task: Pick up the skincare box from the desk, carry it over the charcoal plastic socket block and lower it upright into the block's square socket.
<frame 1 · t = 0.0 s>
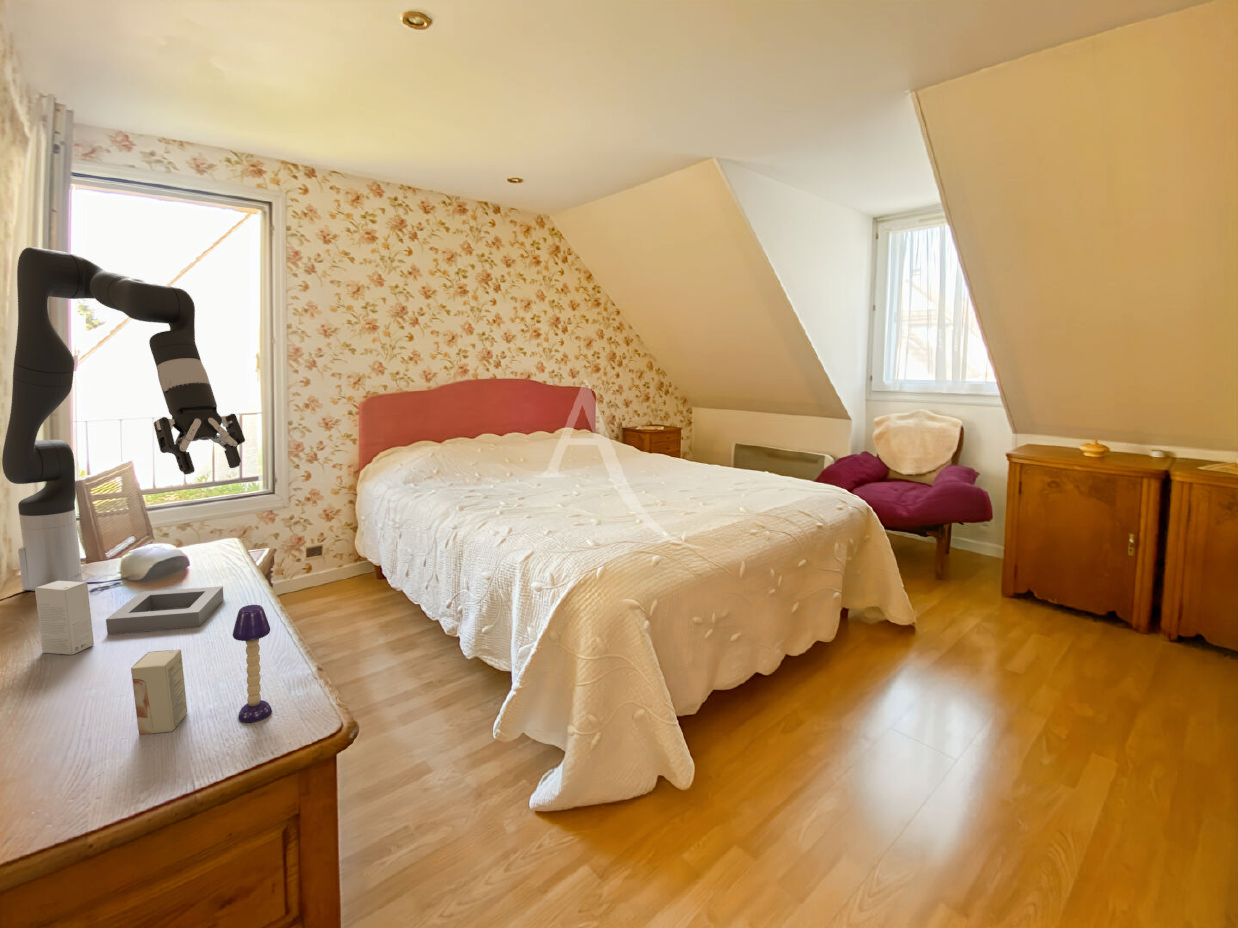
hand: (213, 470, 113), 31 cm above the table, tool tilted 20°, fingers open, 8 cm apart
skincare box: (68, 650, 108), on the table
skincare box 2: (163, 725, 87), on the table
socket block: (169, 615, 124), on the table
toy lamp: (256, 717, 89), on the table
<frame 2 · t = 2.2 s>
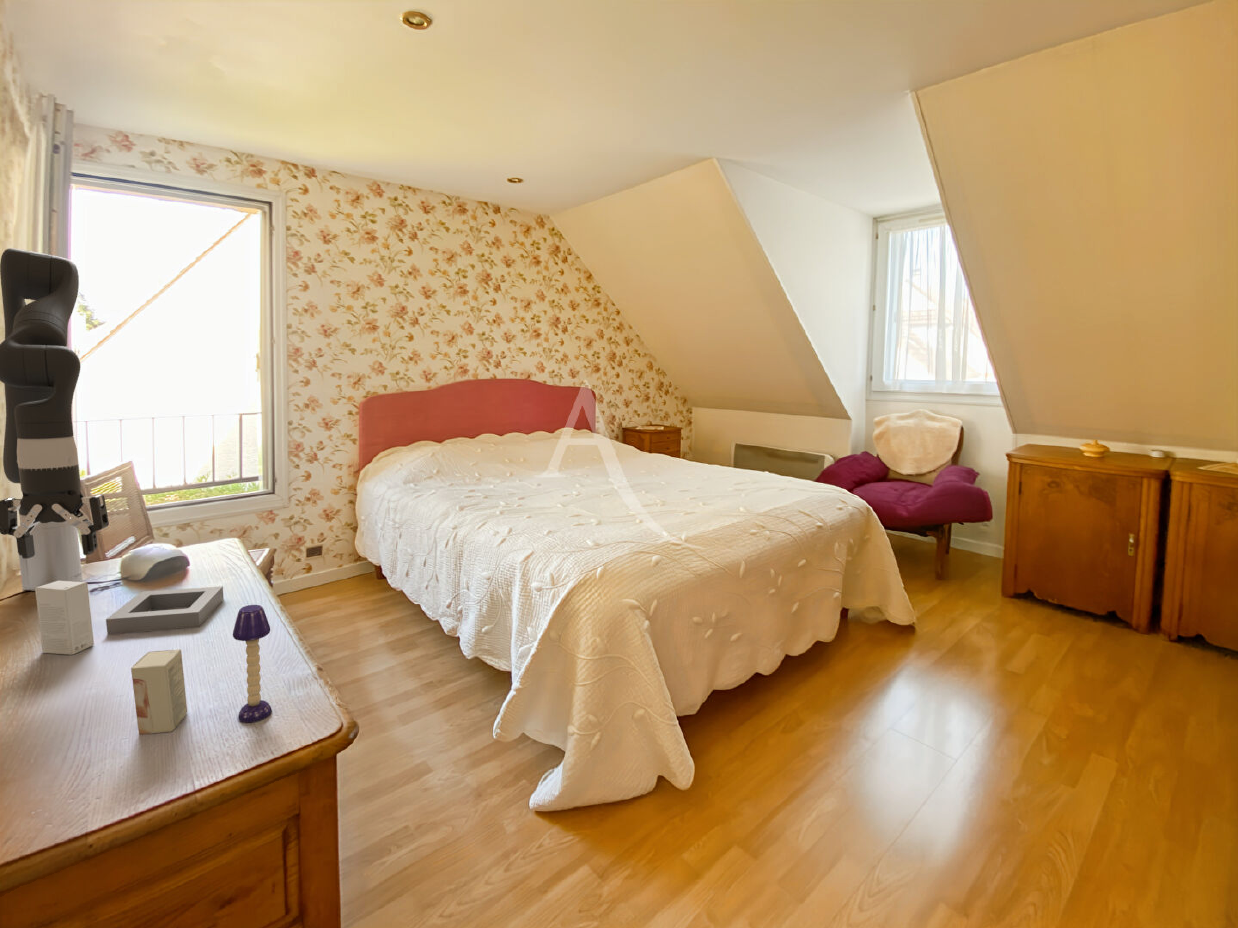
hand: (59, 555, 106), 17 cm above the table, tool pointing down, fingers open, 8 cm apart
nothing on the table moved.
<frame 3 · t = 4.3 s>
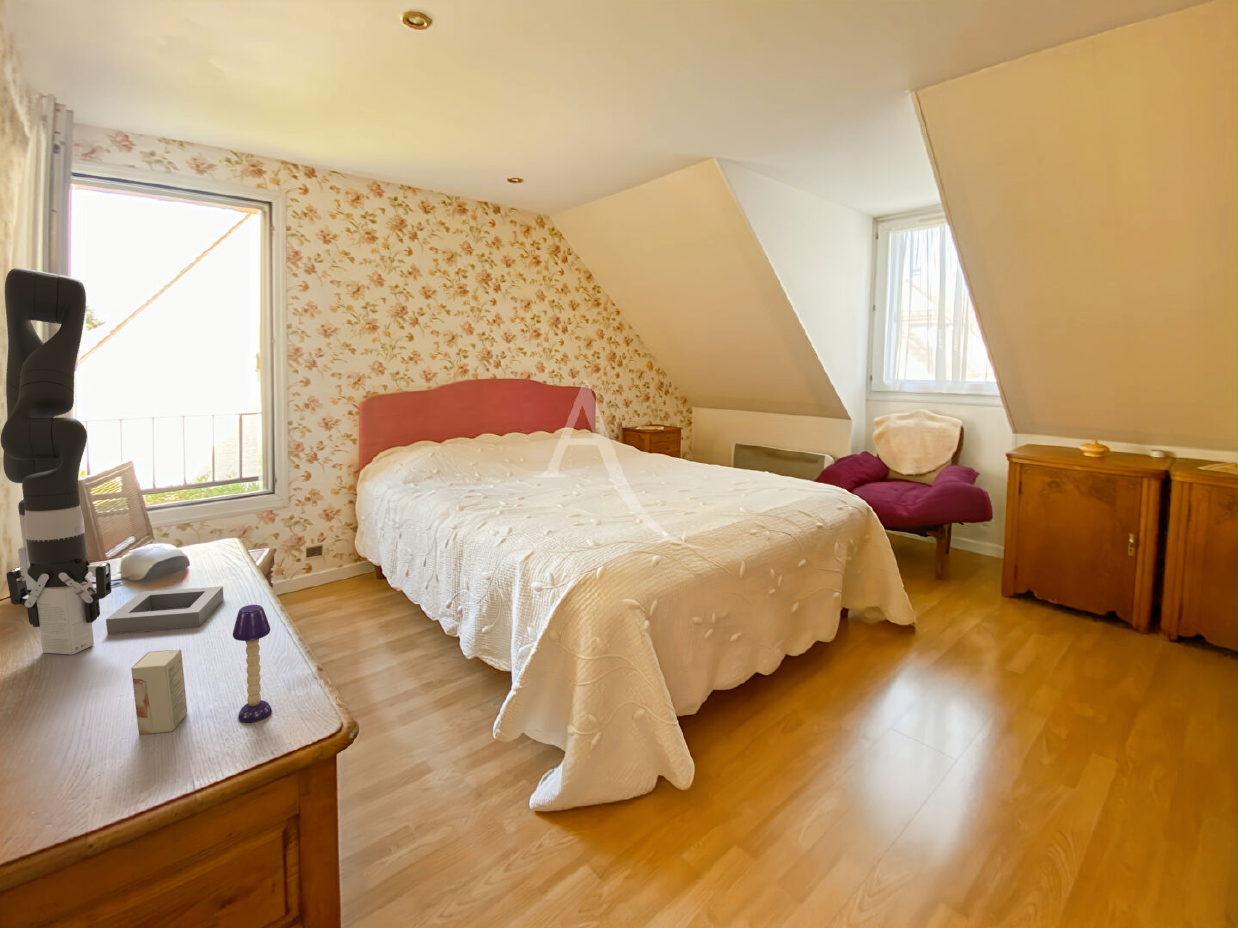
hand: (65, 623, 108), 5 cm above the table, tool pointing down, fingers closed on skincare box, 7 cm apart
skincare box: (68, 650, 108), on the table, touching gripper
everything else where it was.
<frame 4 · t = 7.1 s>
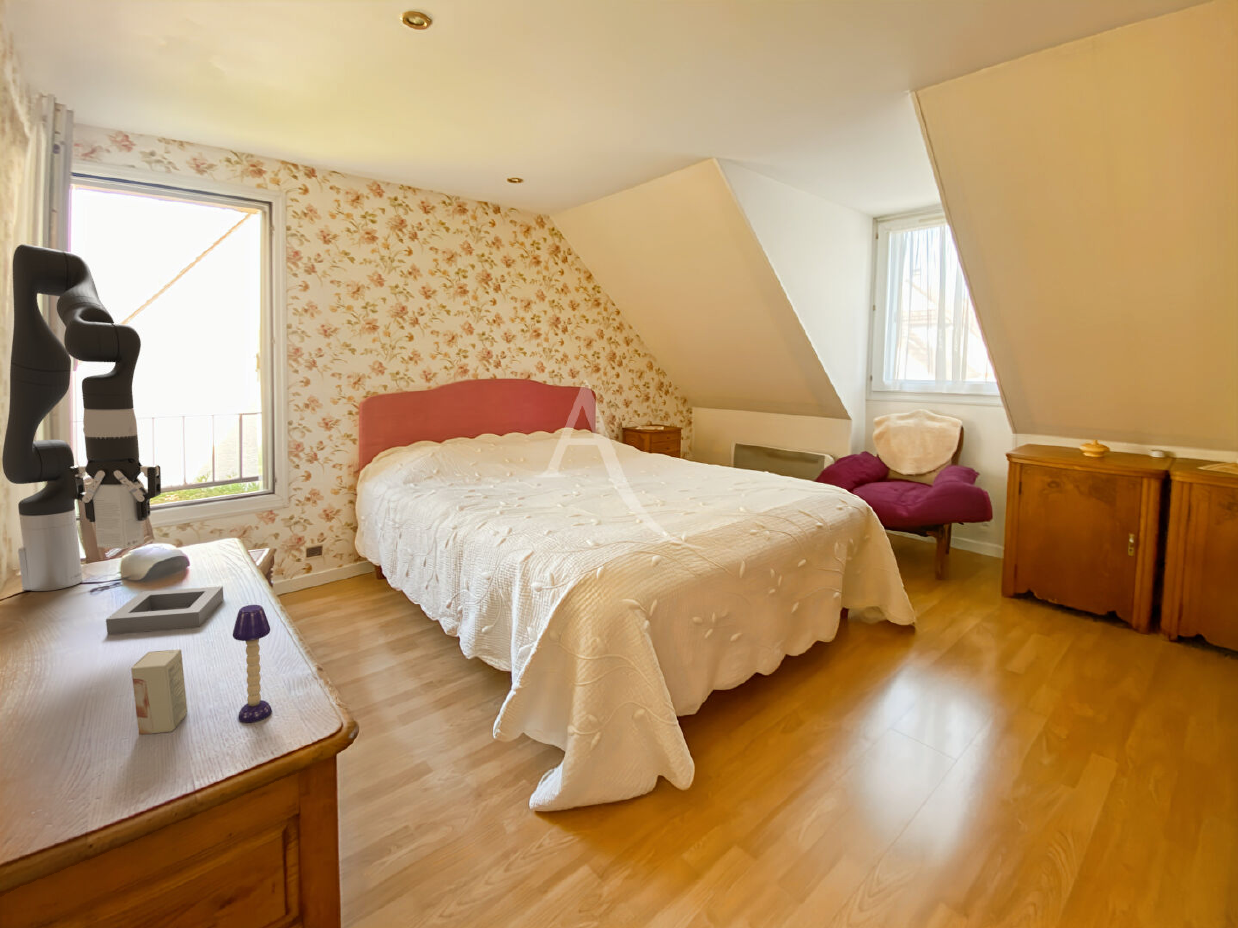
hand: (119, 520, 114), 21 cm above the table, tool pointing down, fingers closed on skincare box, 7 cm apart
skincare box: (121, 546, 115), point 16 cm above the table, touching gripper
everything else where it was.
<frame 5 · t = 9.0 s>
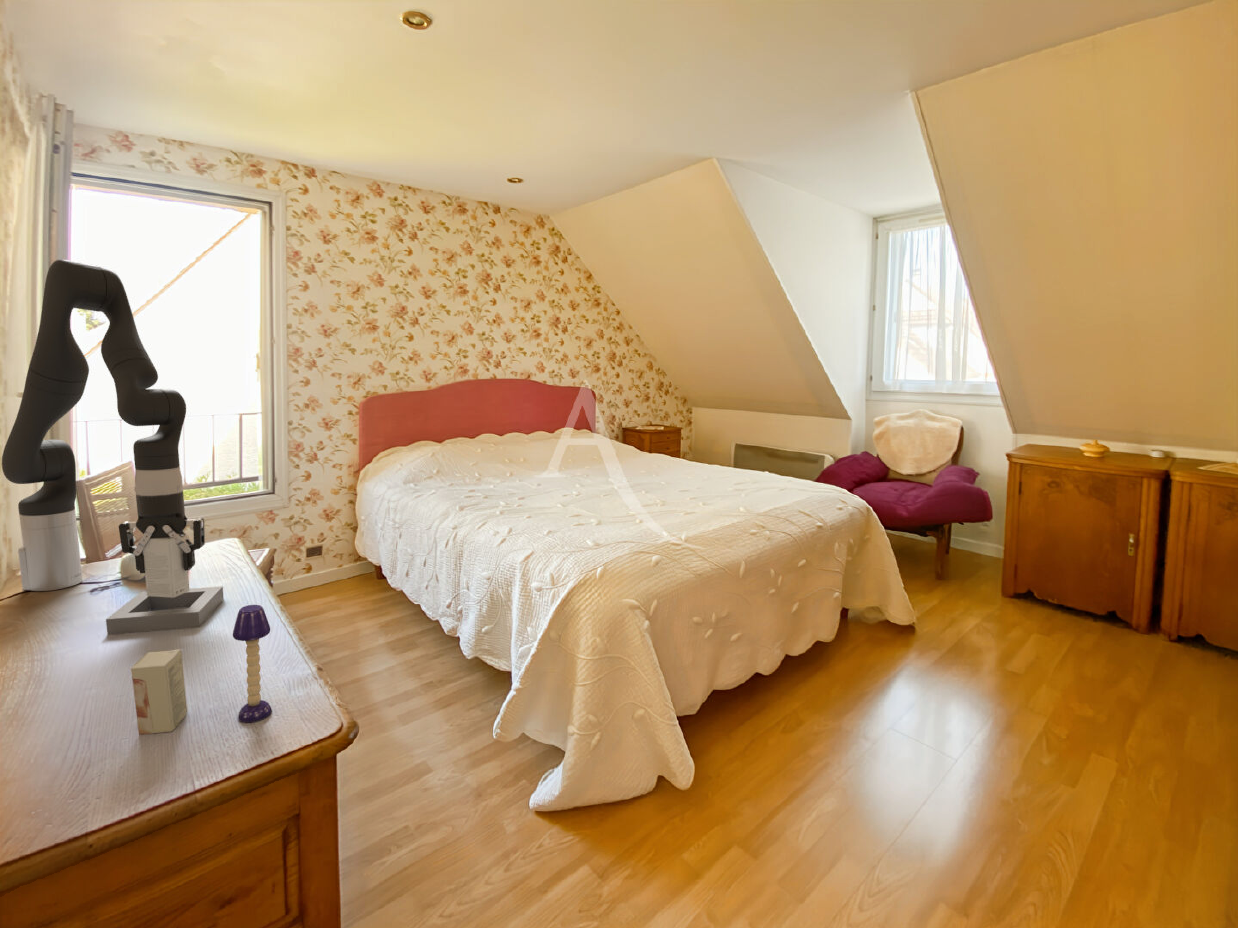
hand: (166, 570, 123), 9 cm above the table, tool pointing down, fingers closed on skincare box, 7 cm apart
skincare box: (168, 594, 123), point 4 cm above the table, touching gripper
everything else where it was.
when the fingers open (6 cm above the table, at t = 10.3 s): skincare box drops 1 cm, resting in socket block.
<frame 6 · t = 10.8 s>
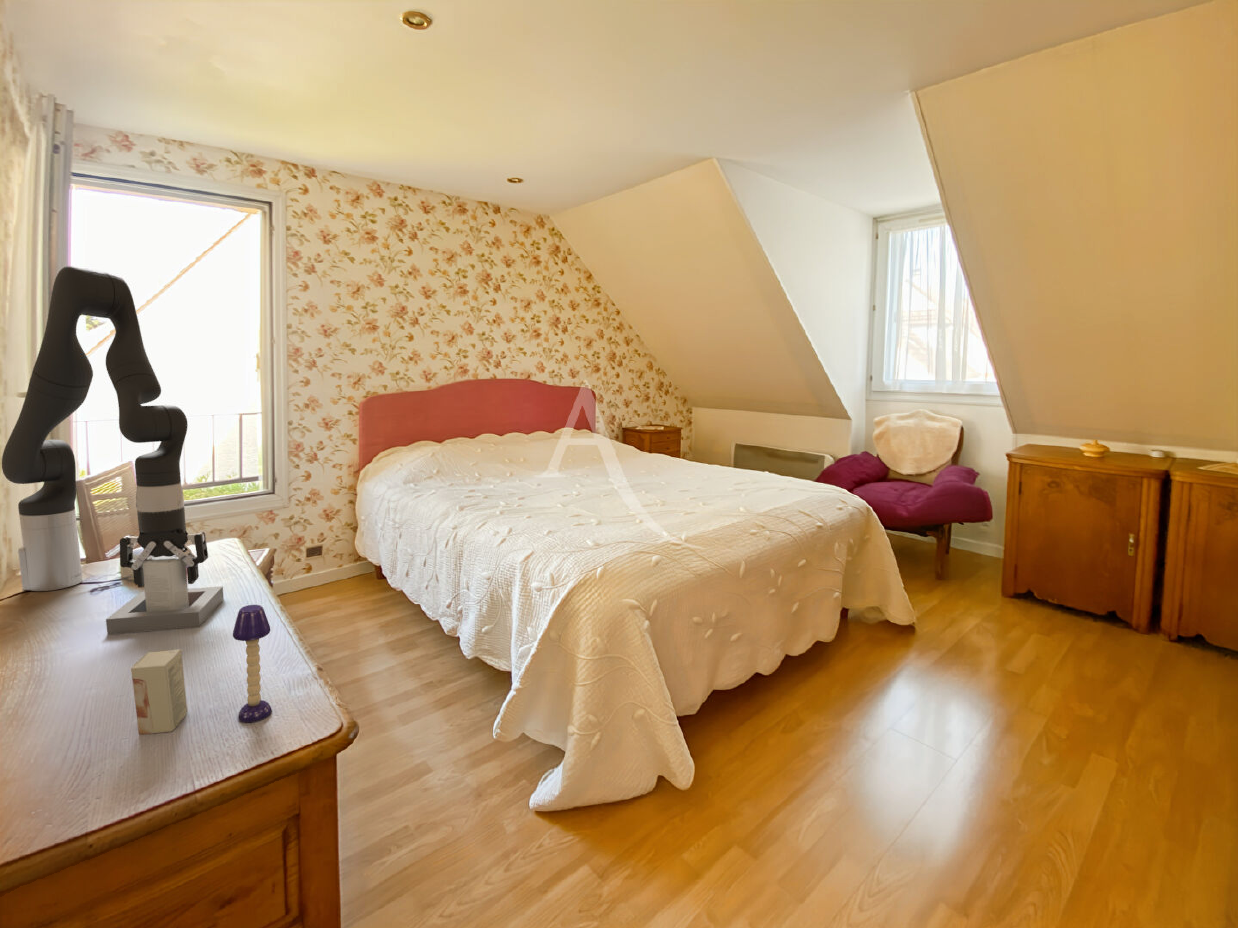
hand: (167, 584, 123), 7 cm above the table, tool pointing down, fingers open, 8 cm apart
skincare box: (168, 616, 124), resting in socket block
everything else where it was.
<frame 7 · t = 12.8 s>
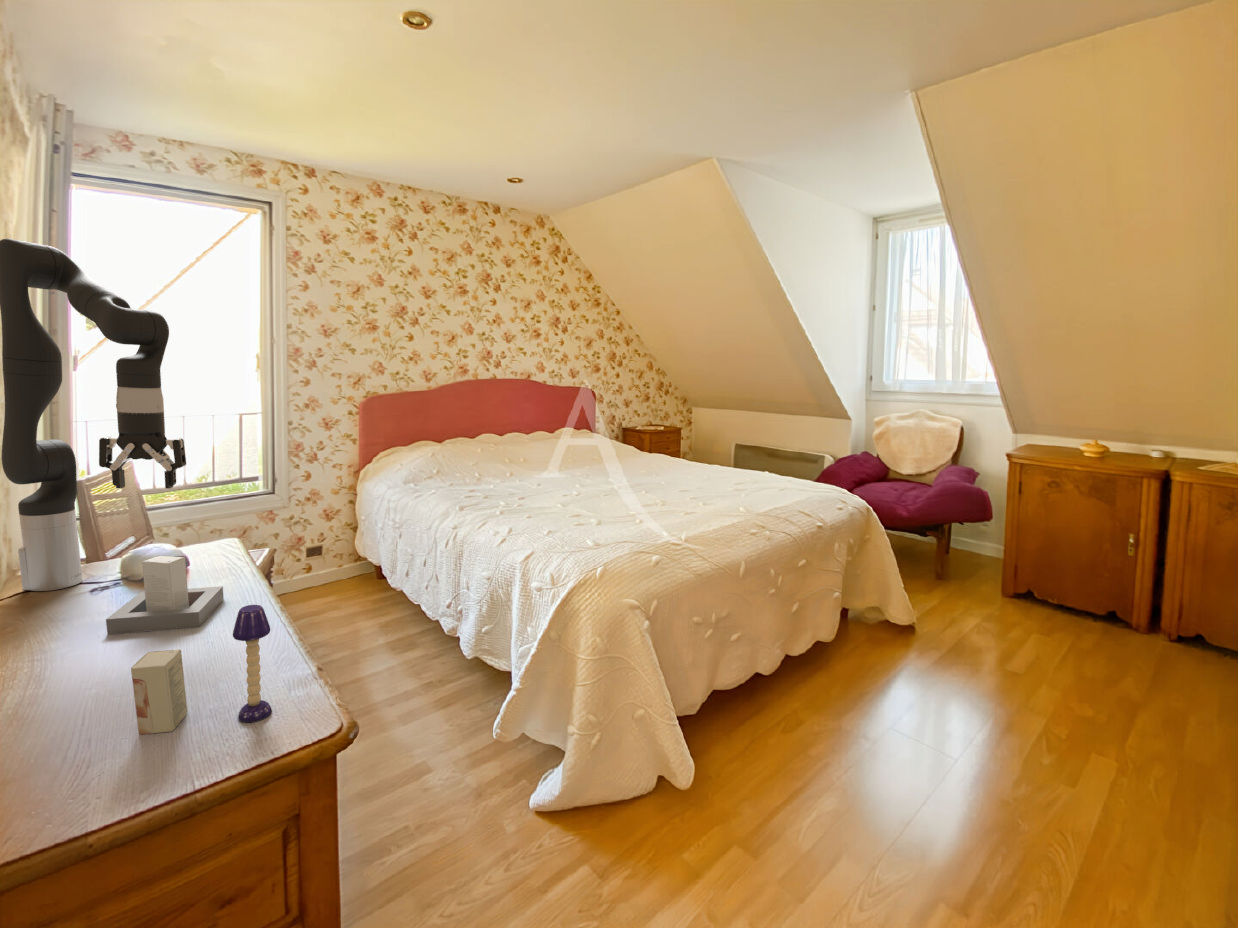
hand: (145, 487, 126), 25 cm above the table, tool pointing down, fingers open, 8 cm apart
nothing on the table moved.
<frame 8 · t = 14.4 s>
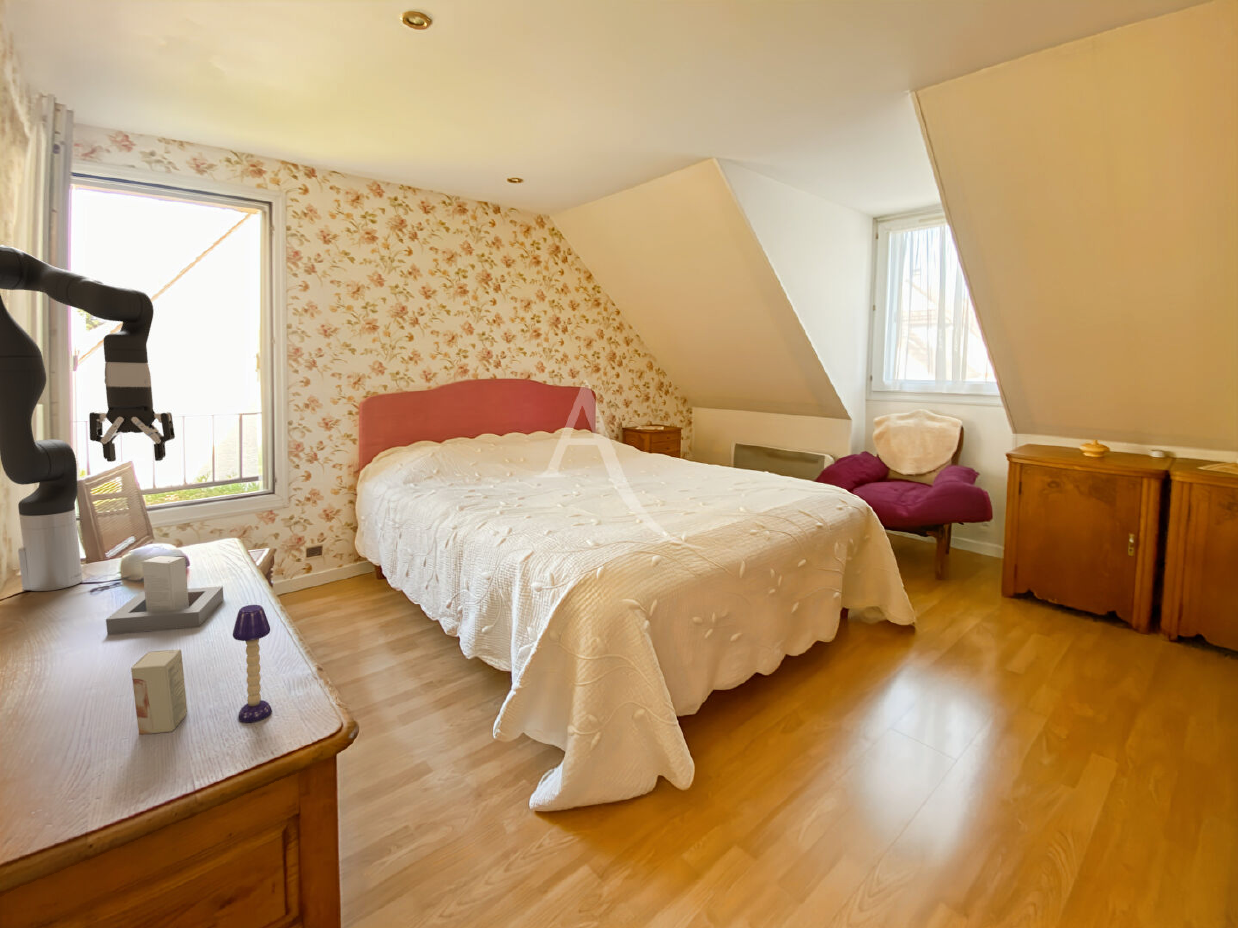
hand: (135, 460, 130), 30 cm above the table, tool pointing down, fingers open, 8 cm apart
nothing on the table moved.
at the end: skincare box 0.3 cm off-centre on the socket block, point 0.0 cm above the socket block's base; skincare box tilted 0°; the gripper is holding nothing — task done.
